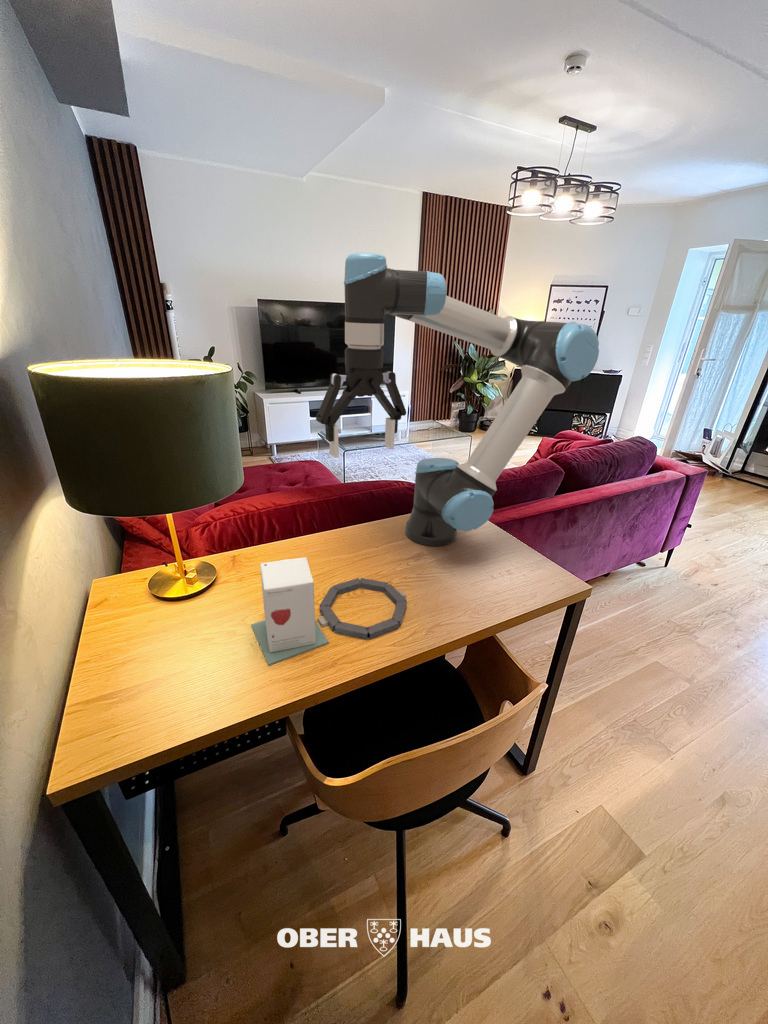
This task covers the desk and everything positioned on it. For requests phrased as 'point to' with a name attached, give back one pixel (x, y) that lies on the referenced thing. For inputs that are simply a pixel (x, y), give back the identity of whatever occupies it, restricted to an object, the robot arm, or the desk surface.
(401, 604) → the socket collar
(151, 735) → the desk surface
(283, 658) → the felt pad
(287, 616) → the supplement box
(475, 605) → the desk surface
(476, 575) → the desk surface
